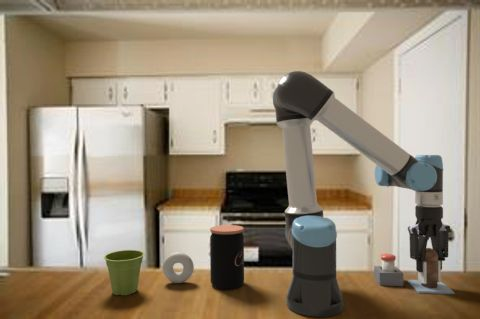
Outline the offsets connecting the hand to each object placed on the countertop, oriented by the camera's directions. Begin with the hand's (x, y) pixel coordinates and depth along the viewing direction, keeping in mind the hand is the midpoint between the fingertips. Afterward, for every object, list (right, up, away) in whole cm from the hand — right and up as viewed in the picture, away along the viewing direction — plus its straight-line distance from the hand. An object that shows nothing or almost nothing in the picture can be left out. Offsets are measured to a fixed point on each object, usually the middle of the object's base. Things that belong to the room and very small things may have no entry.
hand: (429, 281), depth 112 cm
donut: (-78, -3, +6) cm, 78 cm away
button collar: (-10, -2, +5) cm, 12 cm away
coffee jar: (-62, -3, +4) cm, 62 cm away
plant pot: (-93, -3, -1) cm, 93 cm away
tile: (0, -2, 0) cm, 2 cm away
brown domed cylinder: (0, -1, 0) cm, 1 cm away
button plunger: (-10, -1, +5) cm, 12 cm away
